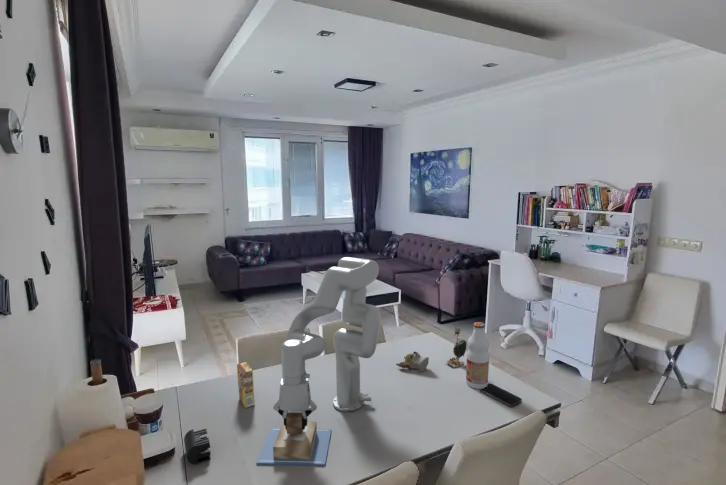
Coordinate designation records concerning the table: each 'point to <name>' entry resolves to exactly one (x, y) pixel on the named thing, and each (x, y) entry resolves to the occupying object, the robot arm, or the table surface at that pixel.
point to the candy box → (245, 384)
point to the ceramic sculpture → (414, 361)
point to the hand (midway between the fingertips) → (295, 426)
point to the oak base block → (295, 443)
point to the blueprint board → (316, 459)
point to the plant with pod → (458, 350)
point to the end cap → (197, 446)
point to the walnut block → (294, 422)
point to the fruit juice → (477, 358)
